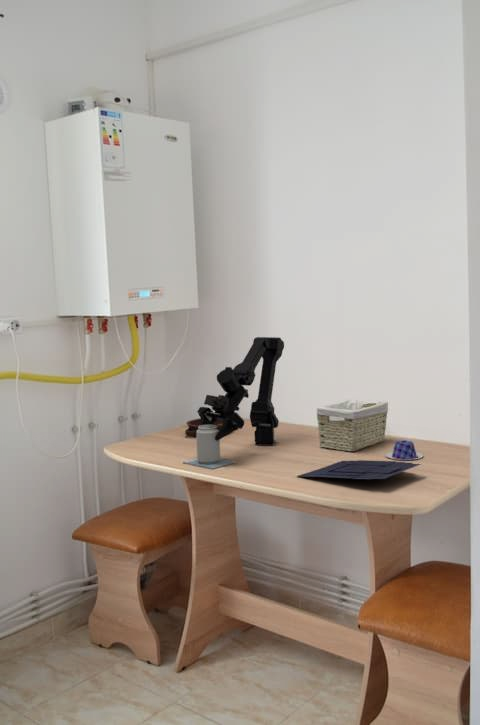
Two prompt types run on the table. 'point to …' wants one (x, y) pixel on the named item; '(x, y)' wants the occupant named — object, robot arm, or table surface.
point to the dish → (195, 423)
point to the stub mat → (210, 466)
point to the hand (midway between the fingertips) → (207, 438)
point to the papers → (361, 469)
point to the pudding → (404, 451)
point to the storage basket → (352, 424)
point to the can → (207, 444)
